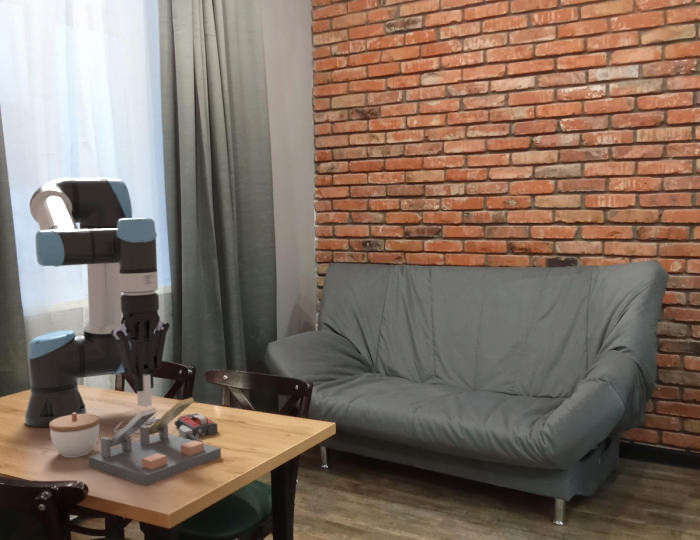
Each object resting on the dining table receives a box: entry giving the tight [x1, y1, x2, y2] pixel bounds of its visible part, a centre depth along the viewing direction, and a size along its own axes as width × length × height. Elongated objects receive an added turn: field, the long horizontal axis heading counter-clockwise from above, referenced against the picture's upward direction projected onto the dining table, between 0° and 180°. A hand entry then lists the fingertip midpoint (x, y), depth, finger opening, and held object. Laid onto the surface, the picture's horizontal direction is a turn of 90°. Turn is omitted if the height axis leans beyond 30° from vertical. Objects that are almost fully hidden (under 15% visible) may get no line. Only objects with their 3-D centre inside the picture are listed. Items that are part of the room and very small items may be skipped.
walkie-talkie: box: [174, 412, 218, 443], centre depth 170 cm, size 9×4×20 cm
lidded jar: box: [48, 413, 100, 459], centre depth 158 cm, size 11×11×9 cm
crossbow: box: [113, 416, 161, 435], centre depth 178 cm, size 16×13×2 cm
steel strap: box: [110, 407, 157, 448], centre depth 147 cm, size 16×4×2 cm
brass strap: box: [149, 397, 195, 436], centre depth 155 cm, size 16×4×2 cm
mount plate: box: [88, 424, 222, 487], centre depth 151 cm, size 20×20×6 cm
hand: (144, 405), depth 144 cm, fingers closed
